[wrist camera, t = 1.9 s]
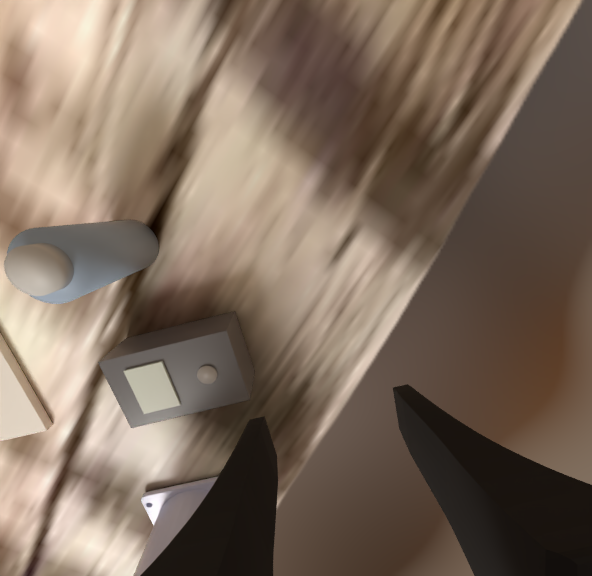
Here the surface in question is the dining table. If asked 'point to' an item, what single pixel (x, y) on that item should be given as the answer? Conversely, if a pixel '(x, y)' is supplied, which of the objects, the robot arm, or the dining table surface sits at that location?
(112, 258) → the peg
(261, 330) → the dining table surface
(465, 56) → the dining table surface
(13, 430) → the batten
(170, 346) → the box
